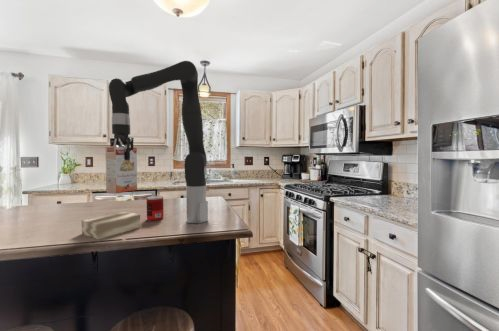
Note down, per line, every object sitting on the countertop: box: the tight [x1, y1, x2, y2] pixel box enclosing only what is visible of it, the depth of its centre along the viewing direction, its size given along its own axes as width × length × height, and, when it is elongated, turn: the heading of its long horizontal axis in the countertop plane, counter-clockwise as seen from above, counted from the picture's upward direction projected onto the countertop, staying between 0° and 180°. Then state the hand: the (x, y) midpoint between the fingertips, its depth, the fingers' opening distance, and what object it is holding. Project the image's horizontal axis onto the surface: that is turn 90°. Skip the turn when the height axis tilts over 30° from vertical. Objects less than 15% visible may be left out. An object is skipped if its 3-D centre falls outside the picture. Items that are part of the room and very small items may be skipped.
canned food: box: [146, 195, 164, 222], centre depth 124 cm, size 8×8×11 cm
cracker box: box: [105, 146, 138, 194], centre depth 117 cm, size 14×6×21 cm, turn 167°
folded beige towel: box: [81, 211, 141, 240], centre depth 105 cm, size 12×18×6 cm, turn 149°
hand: (122, 159), depth 116 cm, fingers closed on cracker box, 6 cm apart
